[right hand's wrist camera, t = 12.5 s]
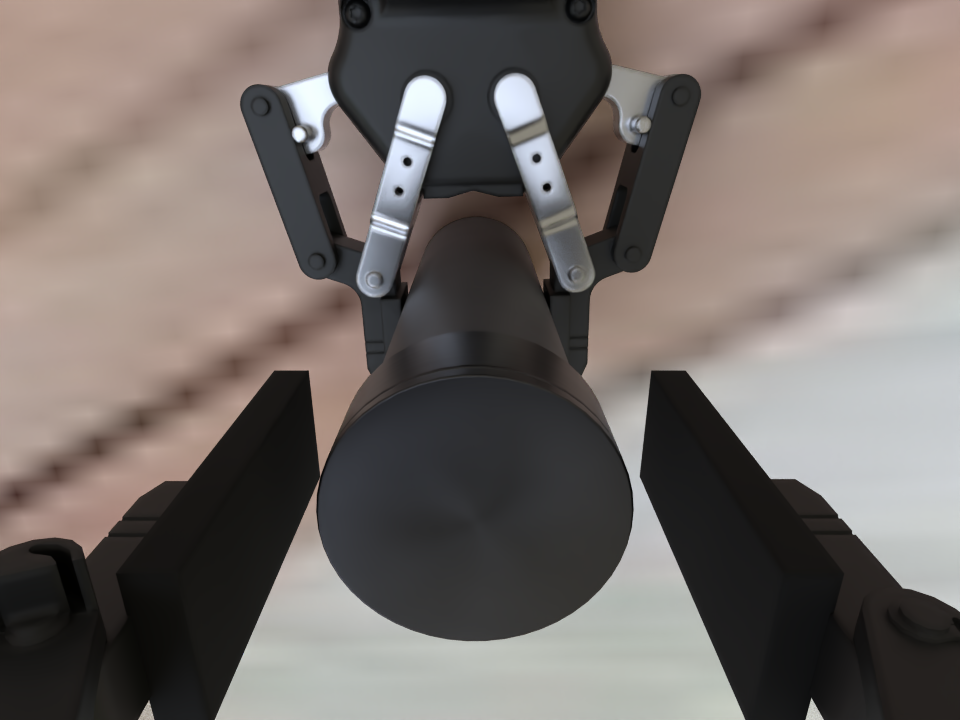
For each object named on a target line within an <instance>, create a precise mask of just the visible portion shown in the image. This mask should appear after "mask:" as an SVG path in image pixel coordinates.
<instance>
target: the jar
mask: <svg viewBox="0 0 960 720" xmlns="http://www.w3.org/2000/svg"><path fill="white" fill-rule="evenodd" d="M461 331H489V332H497V333H504V334H508V335H512V336H516V337H520V338H523V339H526V340H528V341H531V342H533V343H536V344H538V345H540V346H542V347H544V348H546V349H548V350H549V351H551V352H553V353H555V354H556V355H557V356H559V357H560V358H562V359H563V360H564V361H566V362H567V363H568V360H567V357H566V355H565V352H564V349H563V346H562V344H561V341H560V338H559V335H558V332H557V330H556V327H555V324H554V321H553V319H552V316H551V313H550V310H549V308H548V305H547V302H546V299H545V297H544V294H543V291H542V288H541V286H540V283H539V280H538V277H537V274H536V272H535V269H534V266H533V263H532V261H531V258H530V255H529V253H528V250H527V248H526V246H525V244H524V242H523V241H522V240H521V238H520V237H519V236H518V235H517V234H516V233H515V232H514V231H513V230H512V229H510V228H509V227H508V226H506V225H504V224H503V223H501V222H498V221H496V220H493V219H489V218H484V217H469V218H463V219H459V220H456V221H454V222H452V223H450V224H448V225H446V226H445V227H443V228H442V229H441V230H439V231H438V232H437V233H436V234H435V235H434V236H433V238H432V239H431V240H430V242H429V243H428V245H427V247H426V249H425V251H424V254H423V257H422V259H421V262H420V265H419V267H418V270H417V273H416V275H415V278H414V281H413V284H412V286H411V289H410V292H409V294H408V297H407V300H406V302H405V305H404V308H403V310H402V313H401V316H400V318H399V321H398V324H397V326H396V329H395V332H394V334H393V337H392V340H391V342H390V345H389V348H388V351H387V353H386V356H385V359H384V361H383V363H384V362H385V361H386V360H388V359H389V358H390V357H392V356H393V355H394V354H396V353H398V352H399V351H401V350H403V349H405V348H406V347H408V346H410V345H412V344H415V343H417V342H420V341H422V340H425V339H427V338H431V337H435V336H438V335H442V334H446V333H454V332H461ZM568 364H569V363H568Z"/></svg>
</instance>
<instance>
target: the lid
mask: <svg viewBox="0 0 960 720" xmlns="http://www.w3.org/2000/svg"><path fill="white" fill-rule="evenodd" d="M633 510H634V509H633V492H632V487H631V483H630V478H629V474H628V471H627V469H626V466H625V464H624V461H623V458H622V456H621V454H620V451H619V449H618V446H617V444H616V442H615V439H614V437H613V434H612V432H611V430H610V427H609V425H608V422H607V420H606V418H605V415H604V413H603V410H602V408H601V406H600V403H599V402H598V400H597V398H596V396H595V395H594V393H593V391H592V389H591V388H590V387H589V385H588V384H587V383H586V381H585V380H584V379H583V378H582V376H581V375H580V374H579V373H578V372H577V371H576V370H575V369H574V368H573V367H572V366H570V365H569V364H568V363H567V362H566V361H564V360H563V359H562V358H560V357H559V356H557V355H556V354H555V353H553V352H551V351H549V350H548V349H546V348H544V347H542V346H540V345H538V344H536V343H533V342H531V341H528V340H526V339H523V338H520V337H516V336H512V335H508V334H504V333H497V332H489V331H461V332H454V333H446V334H442V335H438V336H435V337H431V338H427V339H425V340H422V341H420V342H417V343H415V344H412V345H410V346H408V347H406V348H405V349H403V350H401V351H399V352H398V353H396V354H394V355H393V356H392V357H390V358H389V359H388V360H386V361H385V362H384V363H382V364H381V365H380V366H379V367H378V368H377V369H376V370H375V371H374V372H373V373H372V374H371V375H370V376H369V377H368V378H367V379H366V381H365V382H364V383H363V385H362V386H361V387H360V389H359V390H358V392H357V394H356V395H355V397H354V399H353V401H352V403H351V404H350V407H349V409H348V411H347V414H346V416H345V418H344V421H343V423H342V425H341V428H340V430H339V432H338V435H337V437H336V439H335V442H334V444H333V446H332V449H331V451H330V453H329V455H328V458H327V460H326V463H325V466H324V468H323V471H322V474H321V477H320V482H319V487H318V492H317V508H316V513H317V521H318V529H319V533H320V537H321V540H322V544H323V547H324V549H325V552H326V554H327V556H328V558H329V561H330V563H331V564H332V566H333V568H334V569H335V571H336V572H337V574H338V576H339V577H340V578H341V580H342V581H343V582H344V583H345V584H346V586H347V587H348V588H349V589H350V590H351V592H353V593H354V594H355V595H356V596H357V597H358V598H359V599H360V600H361V601H362V602H363V603H364V604H366V605H367V606H369V607H370V608H371V609H373V610H374V611H375V612H377V613H378V614H380V615H382V616H383V617H385V618H387V619H389V620H390V621H392V622H394V623H396V624H398V625H401V626H403V627H405V628H408V629H410V630H413V631H416V632H419V633H422V634H426V635H429V636H434V637H439V638H444V639H450V640H461V641H490V640H499V639H506V638H511V637H516V636H520V635H524V634H527V633H531V632H534V631H537V630H540V629H542V628H545V627H547V626H549V625H551V624H553V623H556V622H558V621H560V620H561V619H563V618H565V617H566V616H568V615H570V614H572V613H573V612H575V611H576V610H577V609H579V608H580V607H581V606H583V605H584V604H585V603H586V602H588V601H589V600H590V599H591V598H592V597H593V596H594V595H595V594H596V593H597V592H598V591H599V590H600V589H601V588H602V587H603V585H604V584H605V583H606V582H607V580H608V579H609V578H610V577H611V575H612V574H613V572H614V571H615V569H616V567H617V566H618V564H619V562H620V560H621V558H622V556H623V553H624V551H625V549H626V546H627V544H628V540H629V536H630V532H631V528H632V520H633Z"/></svg>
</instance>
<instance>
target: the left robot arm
mask: <svg viewBox="0 0 960 720" xmlns="http://www.w3.org/2000/svg"><path fill="white" fill-rule="evenodd" d="M338 2H339V14H340V28H339V35H338V40H337V44H336V47H335V50H334V52H333V54H332V57H331V59H330V62H329V67H328V72H327V73H323V74H320V75H317V76H313V77H310V78H306V79H303V80H300V81H296V82H293V83H290V84H286V85H283V86H279V87H277V86H269V85H260V84H257V85H252V86H250V87H248V88H247V89H246V90H245V91H244V92H243V94H242V97H241V101H240V106H241V111H242V114H243V117H244V119H245V122H246V125H247V127H248V130H249V133H250V135H251V138H252V141H253V143H254V146H255V149H256V151H257V154H258V157H259V159H260V162H261V165H262V167H263V170H264V173H265V175H266V178H267V181H268V183H269V186H270V189H271V191H272V194H273V197H274V199H275V202H276V205H277V207H278V210H279V213H280V215H281V218H282V221H283V223H284V226H285V229H286V231H287V234H288V237H289V239H290V242H291V245H292V247H293V250H294V253H295V255H296V258H297V261H298V263H299V266H300V268H301V270H302V271H303V273H304V274H305V275H307V276H308V277H310V278H313V279H318V280H320V279H325V278H328V279H331V280H334V281H337V282H341V283H344V284H346V285H348V286H350V287H351V288H353V289H354V290H355V291H356V293H357V294H358V296H359V298H360V300H361V305H362V315H363V326H364V336H365V346H366V357H367V367H368V370H369V372H370V374H372V373H373V372H374V371H375V370H376V369H377V368H378V367H379V366H380V365H381V364H382V363H383V361H384V359H385V356H386V353H387V351H388V348H389V345H390V342H391V340H392V337H393V334H394V332H395V329H396V326H397V324H398V321H399V318H400V316H401V313H402V310H403V308H404V305H405V302H406V300H407V297H408V285H407V282H401V277H400V269H401V266H402V262H403V259H404V256H405V252H406V249H407V246H408V243H409V239H410V236H411V233H412V229H413V226H414V223H415V220H416V218H417V215H418V212H419V208H420V205H421V202H422V199H423V196H424V199H428V198H450V197H453V196H456V195H459V194H463V193H466V192H469V191H478V192H482V193H486V194H490V195H494V196H498V197H504V196H523V192H524V193H525V196H526V199H527V201H528V204H529V207H530V209H531V212H532V215H533V217H534V220H535V222H536V225H537V228H538V230H539V233H540V236H541V239H542V241H543V244H544V247H545V249H546V252H547V255H548V258H549V260H550V279H544V280H543V294H544V297H545V299H546V302H547V305H548V308H549V310H550V313H551V316H552V319H553V321H554V324H555V327H556V330H557V332H558V335H559V338H560V341H561V344H562V346H563V349H564V352H565V355H566V357H567V360H568V363H569V365H570V366H572V367H573V368H574V369H575V370H576V371H577V372H578V373H579V374H580V375H581V376H582V374H583V371H584V369H585V367H586V365H587V355H588V330H589V304H590V295H591V292H592V289H593V288H594V286H595V285H596V284H597V283H598V282H599V281H601V280H602V279H604V278H606V277H609V276H611V275H614V274H617V273H619V272H622V271H625V272H630V273H631V272H637V271H640V270H642V269H643V268H644V267H646V265H647V264H648V263H649V261H650V259H651V256H652V253H653V249H654V246H655V243H656V240H657V237H658V233H659V230H660V227H661V224H662V221H663V217H664V214H665V211H666V208H667V205H668V201H669V198H670V195H671V192H672V189H673V185H674V182H675V179H676V176H677V173H678V169H679V166H680V163H681V160H682V157H683V153H684V150H685V147H686V144H687V141H688V137H689V134H690V131H691V128H692V125H693V121H694V118H695V115H696V112H697V109H698V105H699V102H700V98H701V89H700V86H699V83H698V82H697V80H696V79H695V78H693V77H692V76H690V75H687V74H672V75H667V76H659V75H655V74H651V73H646V72H642V71H638V70H634V69H629V68H625V67H621V66H617V65H612V62H611V57H610V54H609V51H608V49H607V47H606V45H605V43H604V41H603V39H602V36H601V33H600V29H599V25H598V19H597V0H338ZM602 99H605V100H606V101H607V102H608V103H609V104H610V105H611V107H612V109H613V113H614V120H613V130H614V133H615V135H616V137H617V138H618V139H619V140H620V141H622V142H624V143H627V145H626V149H625V153H624V156H623V160H622V163H621V167H620V170H619V174H618V178H617V181H616V185H615V188H614V192H613V195H612V199H611V203H610V206H609V210H608V213H607V217H606V220H605V224H604V228H603V230H602V231H600V232H597V233H595V234H592V235H589V236H587V237H584V236H583V233H582V230H581V227H580V224H579V221H578V217H577V212H576V208H575V205H574V202H573V199H572V197H571V194H570V191H569V188H568V185H567V182H566V179H565V176H564V173H563V170H562V167H561V164H560V161H559V160H560V159H561V157H562V156H563V154H564V153H565V151H566V150H567V149H568V147H569V146H570V144H571V143H572V141H573V140H574V139H575V137H576V136H577V134H578V133H579V131H580V130H581V129H582V127H583V126H584V124H585V123H586V121H587V120H588V119H589V117H590V116H591V114H592V113H593V112H594V110H595V109H596V107H597V106H598V104H599V103H600V102H601V100H602ZM338 106H340V107H341V109H342V110H343V111H344V113H345V114H346V115H347V116H348V118H349V119H350V120H351V121H352V123H353V124H354V125H355V127H356V128H357V129H358V130H359V132H360V133H361V134H362V135H363V137H364V138H365V139H366V141H367V142H368V143H369V144H370V146H371V147H372V148H373V149H374V151H375V152H376V153H377V155H378V156H379V157H380V158H381V160H382V161H383V162H384V163H385V167H384V171H383V174H382V178H381V181H380V185H379V189H378V192H377V196H376V199H375V203H374V207H373V210H372V214H371V219H370V227H369V231H368V235H367V238H366V242H365V243H364V242H361V241H358V240H355V239H352V238H349V237H347V235H346V232H345V229H344V226H343V223H342V220H341V217H340V214H339V211H338V208H337V205H336V202H335V199H334V196H333V193H332V191H331V188H330V185H329V182H328V179H327V176H326V173H325V170H324V167H323V164H322V161H321V158H320V155H319V152H318V151H321V150H323V149H324V148H325V147H326V146H327V145H328V144H329V142H330V138H331V130H330V117H331V114H332V112H333V111H334V109H335V108H337V107H338Z"/></svg>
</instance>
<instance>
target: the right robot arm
mask: <svg viewBox="0 0 960 720" xmlns="http://www.w3.org/2000/svg"><path fill="white" fill-rule="evenodd" d="M319 478H320V470H319V461H318V452H317V443H316V434H315V425H314V415H313V406H312V397H311V388H310V379H309V371H274V372H273V373H272V374H271V376H270V377H269V378H268V380H267V381H266V382H265V383H264V385H263V386H262V387H261V388H260V390H259V391H258V392H257V394H256V395H255V396H254V397H253V399H252V400H251V401H250V402H249V404H248V405H247V406H246V408H245V409H244V410H243V411H242V413H241V414H240V415H239V417H238V418H237V419H236V420H235V422H234V423H233V424H232V425H231V427H230V428H229V429H228V431H227V432H226V433H225V434H224V436H223V437H222V438H221V440H220V441H219V442H218V443H217V445H216V446H215V447H214V448H213V450H212V451H211V452H210V454H209V455H208V456H207V457H206V459H205V460H204V461H203V462H202V464H201V465H200V466H199V468H198V469H197V470H196V471H195V473H194V474H193V475H192V477H191V478H190V479H189V480H188V481H165V482H163V483H162V484H160V485H159V486H157V487H155V488H154V489H152V490H151V491H149V492H148V493H146V494H144V495H143V496H141V497H140V498H139V499H138V500H137V501H136V502H135V503H134V504H133V506H132V507H131V508H130V509H129V510H128V511H127V512H126V514H125V515H124V516H123V519H122V521H119V522H118V523H117V524H116V525H115V526H114V527H113V528H112V530H111V531H110V532H109V535H108V537H105V538H104V539H103V540H102V541H101V542H100V543H99V544H98V546H97V547H96V548H95V549H94V550H93V551H92V552H91V554H90V555H89V556H88V557H87V558H86V559H85V556H84V553H83V549H82V547H81V546H80V545H78V544H77V543H75V542H74V541H73V540H68V539H61V538H47V539H38V540H31V541H28V542H25V543H21V544H18V545H14V546H11V547H8V548H6V549H4V550H2V551H0V720H138V719H139V717H140V715H141V713H142V711H143V710H144V708H145V706H146V704H147V703H148V701H150V704H151V708H152V712H153V716H154V719H155V720H215V718H216V715H217V713H218V711H219V708H220V706H221V704H222V701H223V699H224V697H225V694H226V692H227V690H228V688H229V685H230V683H231V681H232V678H233V676H234V674H235V671H236V669H237V667H238V665H239V662H240V660H241V658H242V655H243V653H244V651H245V648H246V646H247V644H248V642H249V639H250V637H251V635H252V632H253V630H254V628H255V625H256V623H257V621H258V618H259V616H260V614H261V612H262V609H263V607H264V605H265V602H266V600H267V598H268V595H269V593H270V591H271V589H272V586H273V584H274V582H275V579H276V577H277V575H278V572H279V570H280V568H281V565H282V563H283V561H284V559H285V556H286V554H287V552H288V549H289V547H290V545H291V542H292V540H293V538H294V536H295V533H296V531H297V529H298V526H299V524H300V522H301V519H302V517H303V515H304V513H305V510H306V508H307V506H308V503H309V501H310V499H311V496H312V494H313V492H314V489H315V487H316V485H317V483H318V480H319ZM640 478H641V480H642V483H643V485H644V487H645V489H646V492H647V494H648V496H649V499H650V501H651V503H652V506H653V508H654V510H655V513H656V515H657V517H658V519H659V522H660V524H661V526H662V529H663V531H664V533H665V536H666V538H667V540H668V542H669V545H670V547H671V549H672V552H673V554H674V556H675V559H676V561H677V563H678V565H679V568H680V570H681V572H682V575H683V577H684V579H685V582H686V584H687V586H688V589H689V591H690V593H691V595H692V598H693V600H694V602H695V605H696V607H697V609H698V612H699V614H700V616H701V618H702V621H703V623H704V625H705V628H706V630H707V632H708V635H709V637H710V639H711V642H712V644H713V646H714V648H715V651H716V653H717V655H718V658H719V660H720V662H721V665H722V667H723V669H724V671H725V674H726V676H727V678H728V681H729V683H730V685H731V688H732V690H733V692H734V694H735V697H736V699H737V701H738V704H739V706H740V708H741V711H742V713H743V715H744V718H745V720H805V719H806V716H807V712H808V708H809V704H810V701H811V698H812V699H813V701H814V703H815V705H816V706H817V708H818V710H819V712H820V714H821V715H822V717H823V719H824V720H960V612H959V611H958V610H957V609H955V608H953V607H951V606H949V605H948V604H946V603H944V602H942V601H940V600H938V599H936V598H935V597H932V596H929V595H926V594H923V593H920V592H917V591H914V590H911V589H903V588H902V587H901V586H900V585H899V584H898V582H897V581H896V580H895V579H894V578H893V577H892V576H891V574H890V573H889V572H888V571H887V570H886V569H885V568H884V566H883V565H882V564H881V563H880V562H879V561H878V560H877V559H876V557H875V556H874V555H873V554H872V553H871V552H870V551H869V549H868V548H867V547H866V546H865V545H864V544H863V543H862V542H861V540H860V539H859V538H858V537H857V536H856V535H853V534H852V530H851V529H850V528H849V527H848V526H847V524H846V523H845V522H844V521H843V520H842V519H839V518H838V514H837V513H836V512H835V511H834V510H833V509H832V507H831V506H830V505H829V504H828V503H827V502H826V501H825V499H824V498H823V497H822V496H821V495H819V494H818V493H816V492H815V491H813V490H811V489H810V488H808V487H807V486H805V485H803V484H802V483H800V482H799V481H797V480H796V479H770V478H769V477H768V475H767V474H766V473H765V471H764V470H763V469H762V468H761V466H760V465H759V464H758V462H757V461H756V460H755V459H754V457H753V456H752V455H751V454H750V452H749V451H748V450H747V448H746V447H745V446H744V445H743V443H742V442H741V441H740V440H739V438H738V437H737V436H736V434H735V433H734V432H733V431H732V429H731V428H730V427H729V425H728V424H727V423H726V422H725V420H724V419H723V418H722V417H721V415H720V414H719V413H718V411H717V410H716V409H715V408H714V406H713V405H712V404H711V402H710V401H709V400H708V399H707V397H706V396H705V395H704V394H703V392H702V391H701V390H700V388H699V387H698V386H697V385H696V383H695V382H694V381H693V380H692V378H691V377H690V376H689V374H688V373H687V372H686V371H651V379H650V388H649V397H648V406H647V415H646V425H645V434H644V443H643V452H642V461H641V470H640Z"/></svg>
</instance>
